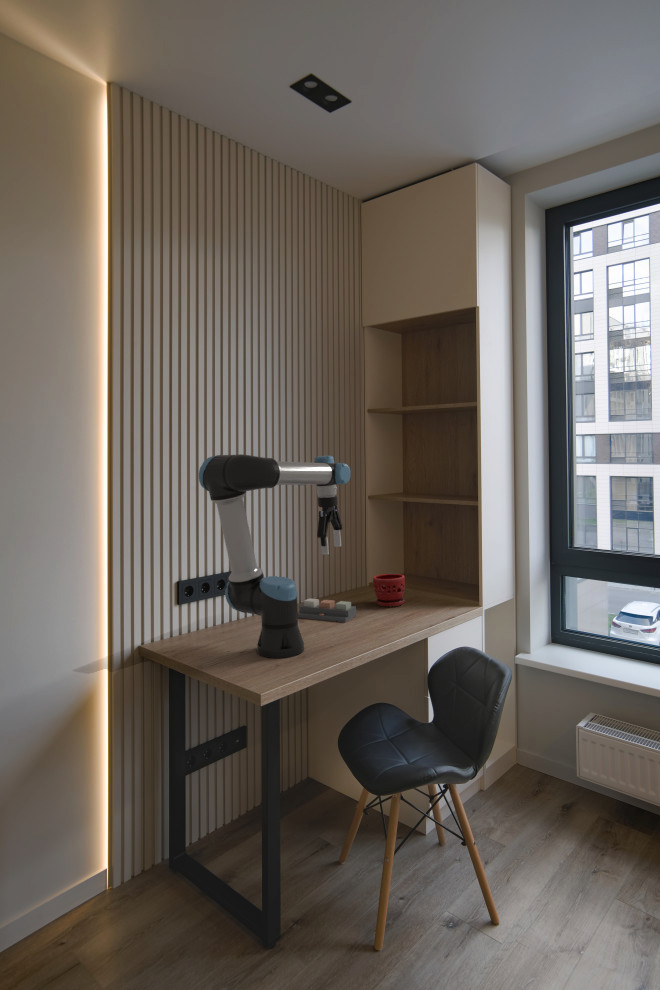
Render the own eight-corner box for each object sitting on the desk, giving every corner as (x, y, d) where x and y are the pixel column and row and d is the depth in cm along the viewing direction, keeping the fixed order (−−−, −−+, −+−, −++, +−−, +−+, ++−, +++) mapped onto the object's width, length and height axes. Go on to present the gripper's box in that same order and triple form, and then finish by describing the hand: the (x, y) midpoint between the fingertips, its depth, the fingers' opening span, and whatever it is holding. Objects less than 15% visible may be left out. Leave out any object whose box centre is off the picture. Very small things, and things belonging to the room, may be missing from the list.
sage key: (346, 612, 233) (346, 604, 233) (335, 611, 235) (335, 603, 235) (351, 609, 237) (350, 601, 237) (340, 608, 239) (340, 601, 239)
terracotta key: (329, 610, 236) (329, 603, 236) (319, 609, 238) (319, 602, 238) (334, 608, 240) (334, 600, 240) (324, 607, 242) (324, 599, 242)
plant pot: (405, 600, 260) (404, 572, 260) (405, 608, 247) (404, 578, 247) (374, 600, 262) (373, 573, 261) (373, 608, 249) (372, 579, 248)
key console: (345, 622, 229) (345, 612, 229) (296, 617, 239) (296, 607, 238) (356, 616, 238) (355, 606, 237) (308, 611, 247) (307, 602, 247)
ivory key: (313, 609, 239) (313, 601, 239) (304, 608, 241) (303, 600, 241) (319, 606, 243) (318, 599, 243) (309, 605, 245) (309, 598, 245)
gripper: (324, 500, 222) (328, 557, 224) (347, 491, 245) (351, 543, 247) (305, 501, 225) (310, 557, 227) (329, 491, 248) (334, 543, 250)
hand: (331, 550), depth 237 cm, fingers open, 13 cm apart
